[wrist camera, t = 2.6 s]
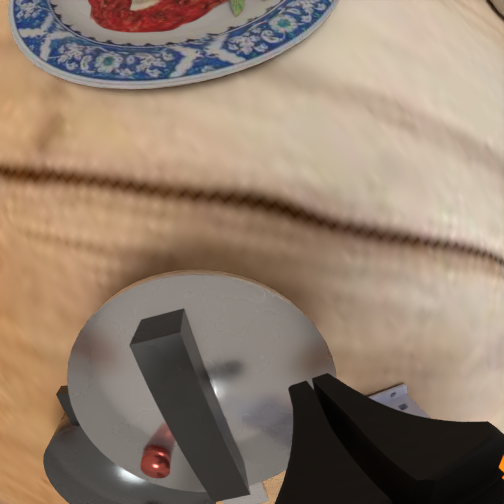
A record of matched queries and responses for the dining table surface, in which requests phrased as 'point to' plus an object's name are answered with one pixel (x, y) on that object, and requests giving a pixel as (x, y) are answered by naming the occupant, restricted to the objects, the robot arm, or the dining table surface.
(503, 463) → the orange juice
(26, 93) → the dining table surface
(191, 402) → the cooker lid
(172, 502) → the cooker body
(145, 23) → the ceramic plate
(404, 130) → the dining table surface
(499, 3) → the plastic bottle
